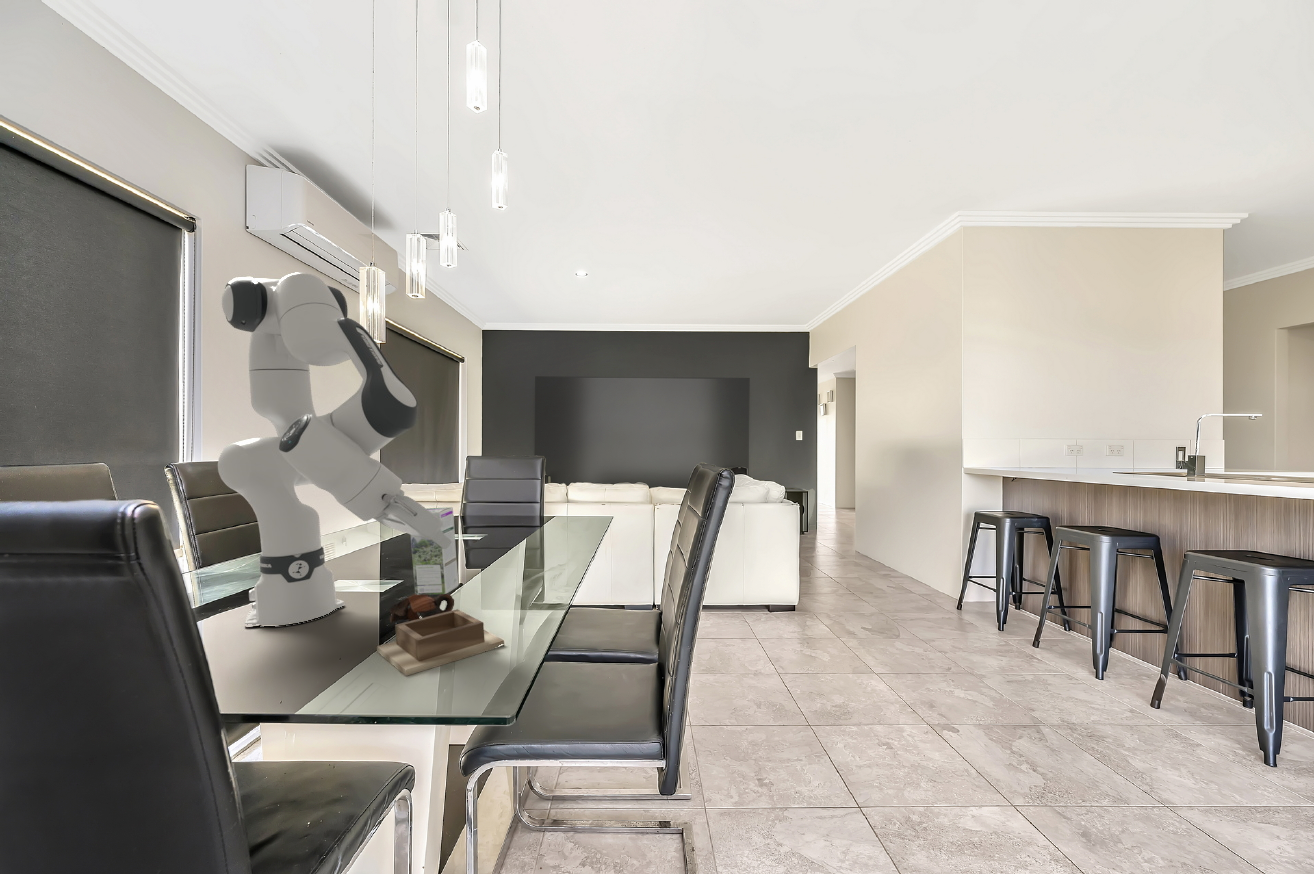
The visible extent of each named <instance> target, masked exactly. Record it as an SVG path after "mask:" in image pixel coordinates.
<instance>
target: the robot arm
mask: <svg viewBox="0 0 1314 874" xmlns="http://www.w3.org/2000/svg"><path fill="white" fill-rule="evenodd" d="M221 307H222V311H223V313H224V315H225V318H226V321H227V322H228V323H229V324H230V326H231V327H233V328H234V329H236V330H239V331H244V332H248V333H251V334H250V340H249V348H248V375H249V376H248V378H249V390H250V404H251V407H252V409H253V410H254V411H255V412H256V414H258V415H259V416H262V417H263V418H265V419H267V420H268V421H269V422H270V423H272V425H273V427H274V429H275V431H276V433H277V436H271V437H270V436H269V437H268V436H267V437H252V438H248V439H243V440H239V441H236V442H233V443H228V445H226V446H225V447H224V448H223V449H222V451H221V453H220V455H219V457H218V460H217V472H218V474H219V476H220V477H219V478H220V479H221V481H222V482H223V483H224V484H225V485H226V486H227V487H228V488H230V489H231V490H233V491H235V492H236V493H238V494H239V495H240V496H242V497H243V498H244V499H245V500H246V501H247V502H248V504H249V505H250V507H251V508H252V510H253V512H254V514H255V517H256V520H257V524H258V530H259V531H258V532H259V537H260V538H259V539H260V547H261V554H260V556H259V562H258V563H259V571H260V573H261V575H260V577H259V580H257V582H256V584H255V585H254V588H251V589H250V590H249V591H248V598H249V600H248V601H251V602H252V601H253V603H252V604H251V607H252V611H248V613H247V615H246V618H245V622H244V625H245V624H247V625H248V624H252V625H256V624H260V625H285V624H289V623H298V624H300V623H299V622H302V621H307V622H309V621H308V620H311V619H313V618H318V617H320V616H323V617H325V616H324V615H326V614H328V615H329V613H330V612H332V611H333V610H334V611H336V610H337V609H336V608H339V609H341V608H343V607H342V606H344V605H345V606H346V604H345V601H344V600H341V599H338V598H337V594H336V586H335V577H334V572H333V570H331V569H329V568H327V567H326V566H325V562H326V560H325V559H326V558H325V556H326V554H325V549H324V547H323V546H322V539H321V526H320V525H321V524H320V515H319V513H318V511H317V510H316V509H315V508H314V507H312V506H311V505H308V504H304V503H303V502H301V501H300V499H299V497H298V496H297V493H296V490H295V487H298V486H306V485H314V486H315V487H316V488H319V489H321V490H324V491H326V492H328V493H329V494H331V496H333V497H334V499H335V500H336V502H338V503H339V504H340V505H341V506H342V507H343V508H345V509H346V510H348V511H349V512H351V513H352V514H353V515H355V516H356V517H357V518H358V519H360V520H361V521H363V522H368V521H370V520H372V519H373V520H375V521H376V522H379V523H380V524H381V525H384V526H386V527H388V528H389V529H391V530H396V531H398V532H401V533H405V534H408V535H410V536H411V535H414V536H417V537H421V538H424V539H427V540H432V541H433V542H435V544H437V545H438V546H439V547H440V548H443V549H447V548H448V547H449V545H450V544H451V540H450V539H449V538H447V537H446V536H445V535H444V534H443V532H442V531H441V530H440V528H441V527H442V525H443V523H442V521H441V520H440V519H439V518H438V517H437V516H435V515H434V514H433V513H431V512H430V511H429V510H427V507H425V506H424V505H422V504H420V503H419V502H418V501H416V499H415V500H414V499H413V498H411V497H410V496H408V495H405V491H404V490H403V489H401V488H402V485H403V480H402V478H400V477H399V476H397V475H396V474H395V473H394V472H392V471H391V470H390V469H389V468H388V467H386V466H385V464H383V463H382V462H380V461H379V460H377V459H375V458H373V457H371V456H372V455H373V454H375V453H377V452H379V451H380V450H382V448H384V447H385V446H386V445H387V444H389V443H390V442H391V441H393V440H394V439H395V438H397V437H399V436H401V435H402V434H404V433H405V432H407V431H409V430H410V429H412V428H414V427H415V425H416V423H417V420H418V416H419V415H418V413H419V404H418V400H417V398H416V397H415V395H414V393H413V392H412V391H411V390H410V388H409V387H408V386H407V385H406V384H405V383H404V381H402V380H401V378H400V377H399V376H398V374H397V373H396V371H395V369H394V368H393V367H392V365H391V364H390V362H389V360H388V358H387V357H386V356H385V354H384V353H383V352H382V351H383V350H381V348H380V346H379V345H378V344H377V342H376V341H375V339H374V338H373V336H372V335H371V334H370V333H369V331H368V330H367V329H366V328H365V327H364V326H362V324H360V323H359V322H357V321H356V320H354V319H352V318H349V317H348V315H349V314H348V303H347V300H346V298H345V295H344V294H343V292H342V291H341V290H340V289H339V288H336V287H333V286H332V285H331V286H330V285H327V283H325V281H324V280H323V279H321V278H320V277H318V276H316V275H314V274H312V273H308V272H294V273H290V274H287V275H285V276H283V277H282V278H281V279H277V278H253V277H252V276H246V277H245V276H243V277H235V278H233V279H231V280H230V281H228V282H227V283H226V285H225V288H224V291H223V293H222V297H221ZM349 360H350V361H351V362H352V363H353V365H354V367H355V369H356V371H357V372H358V374H359V375H360V377H361V378H362V381H361V384H360V386H359V388H358V390H357V391H356V392H355V393H353V395H352V396H350V397H349V398H348V399H347V400H345V401H344V402H343V403H342V404H340V405H338V407H336V408H335V409H333V411H331V412H328V413H326V414H324V415H319V416H318V415H317V413H316V411H315V407H314V403H313V396H312V387H311V386H312V385H311V376H310V375H311V373H310V366H316V367H331V366H336V365H340V364H342V363H344V362H346V361H349ZM416 513H417V515H416ZM414 515H416V516H414ZM345 606H344V607H345ZM340 607H341V608H340ZM335 609H336V610H335ZM334 611H333V612H334ZM249 612H251V613H249ZM333 612H332V613H333ZM248 614H250V615H248ZM330 614H331V613H330ZM326 616H327V615H326ZM318 619H319V618H318ZM311 621H312V620H311Z"/></svg>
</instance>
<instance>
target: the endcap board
mask: <svg viewBox="0 0 1314 874" xmlns="http://www.w3.org/2000/svg"><path fill="white" fill-rule="evenodd" d="M484 626H485V625H484V622H483V621H481V620H479V619H477V618H475V617H474V616H472V615H470V614H468V613H466V612H464V611H462V610H460V609H458V608H456V609H454V610H453V609H452V611H449V612H445V613H441V614H437V615H433V616H429V617H425V618H422V617H421V618H420V619H417V620H413V621H409V620H408V621H406V622H405V621H404V622H402V623H398V624H395V625H394V628H395V641H392V642H388V643H384V644H380V645H377V646H376V652H377V653H378V654H379V653H380V654H381V655H380V654H379V655H380V656H381V657H382V658H384V657H385V658H384V659H385V660H388V663H390V664H391V665H392V666H393V665H394V666H395V667H394V666H393V667H394V668H396V669H397V670H398V671H399V672H400V673H401V674H402V675H404V676H405V677H407V676H412V675H414V674H417V673H421V672H423V671H426V670H430V669H433V668H437V667H440V666H443V665H446V664H449V663H454V662H457V661H459V660H463V659H466V658H469V657H472V656H473V657H474V656H476V655H479V654H482V653H486V652H488V651H492V650H494V649H493V648H495V647H498V646H499V645H501V644H504V645H505V639H503V638H501V637H499V636H497V635H495V634H493V633H491V632H490V631H488V630H485V627H484ZM491 649H492V650H491ZM485 651H486V652H485Z"/></svg>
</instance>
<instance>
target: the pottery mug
mask: <svg viewBox="0 0 1314 874" xmlns="http://www.w3.org/2000/svg"><path fill="white" fill-rule="evenodd" d="M444 601H445V602H446V605H445V608H444V610H442V609H441V605H442V603H443V602H444ZM409 606H410V607H409ZM454 606H455V599H454V598H453V596H452V595H451V594H450V593H446V594H437V595H436V596H433V597H430V596H428V595H415V593H413V594H412V595H410V596H408V597H405V598H403V599H401V600H400V601H398V602H396V603H394V604H393V605H392V606H391V607H390V608H389V610H388V611H389V613H390V617H389V621H390V623H391V624H392V623H395V622H398V621H408V622H409V621H413V620H417V619H421V618H425V617H429V616H433V615H437V614H441V613H445V612H449V611H452V610H453V609H454ZM408 607H409V608H408ZM420 616H421V618H420Z"/></svg>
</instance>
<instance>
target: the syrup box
mask: <svg viewBox="0 0 1314 874" xmlns="http://www.w3.org/2000/svg"><path fill="white" fill-rule="evenodd" d="M426 509H427V510H429V511H430V512H431V513H433V514H434V515H435V516H437V517H438V518H439V519H440V520H441V521H442V523H443V525H442V527H441V528H440V530H441V531H442V532H443V534H444V535H445V536H446V537H447V538H449V539H450V540H451V544H450V545H449V547H448V548H447V549H443V548H440V547H439V546H438V545H437V544H435V542H433V541H432V540H427V539H424V538H421V537H417V536H414V535H411V534H410V543H411V547H410V548H411V557H412V559H411V560H412V572H413V580H414V581H413V583H414V594H415V595H427V596H428V595H430V596H431V595H440V594H446V593H447V594H449V593H450V592H451V591H453V590H455V589H456V588H458V587H459V586H460V584H459V575H458V562H457V547H456V532H455V517H454V516H455V515H454V508H453V507H452V506H450V507H448V506H447V507H446V506H445V507H433V508H431V507H429V508H427V507H426ZM416 515H417V513H416ZM416 515H414V516H416Z"/></svg>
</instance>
